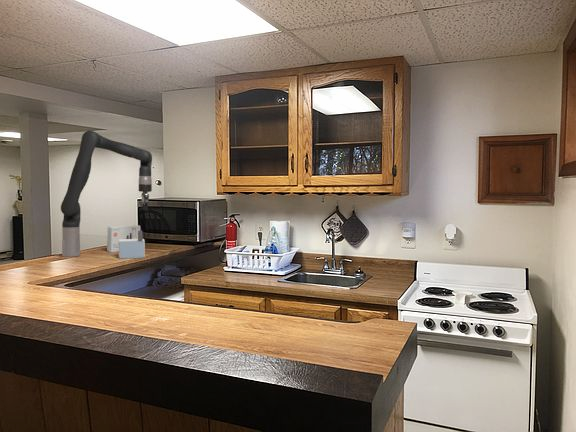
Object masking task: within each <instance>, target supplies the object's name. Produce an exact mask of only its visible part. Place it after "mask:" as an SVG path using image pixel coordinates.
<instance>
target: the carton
mask: <svg viewBox="0 0 576 432" xmlns="http://www.w3.org/2000/svg"><path fill="white" fill-rule="evenodd" d="M120 241H138V239H119V242H120ZM143 241H144V257H143V258H145V257H146V256H145V255H146V250H145V249H146V245H145V242H146V241H145V239H144V238H143ZM118 258H119V259H123V258H120V246H119V251H118ZM143 258H142V259H143Z"/></svg>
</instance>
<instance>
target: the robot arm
mask: <svg viewBox="0 0 576 432" xmlns="http://www.w3.org/2000/svg"><path fill="white" fill-rule="evenodd" d="M95 148H96V149H103V150H107V151H110V152H113V153H115V154H118V155H121V156H124V157H128V158H131V159H135V160H137V161H139V162H140V163H139V169H138V192H140V193H141V192H142V193H141V200H140V201H141V204H142V206H141V209H142V210H143V212H144V211H145V212H148V211H149V203H150V198H149V197H150V194H149V193H148V192H152V190H153V189H152V187H153V180H152V164H153V155H152V153H151V151H149V150H146V149H143V148H139V147H135V146H133V145H132V144H131V145H130V144H127V143H125V142H122V141H121V142H119V141H115V140H112V139H108V138H107V137H105V136H102V135H100V134H99V133H98V132H96V131H95V130H94V131H93V130H86V131H85V132H83V134H82V136H81V141H80V146H79V150H78V154H77V156H76V159H75V161H74V162H75V163H74V164H73V168H72V171H71V175H70V178H69V183H68V186H67V191H66V193H65V196H64V197H63V200H62V202H61V205H60V211H61V213H62V214H63V218H62V219H63V220H62V224H61V226H62V228H61V231H62V232H61V233H62V234H61V235H62V236H61V237H62V239H61V248H62V249H61V250H62V251H61V252H62V253H61V254H62V255H61V256H62V257H63V258H65V257H67V258H68V257H69V258H71V257H79V256H81V239H80V238H81V235H80V234H81V233H80V231H81V229H80V223H81V204H80V202H79V200H80V197H81V193H82V192H83V190H84V188H85V187H86V185H87V183H88V180H89V177H90V174H91V172H92V171H91V170H92V157H93V154H94V150H95Z"/></svg>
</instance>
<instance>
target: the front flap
mask: <svg viewBox="0 0 576 432" xmlns="http://www.w3.org/2000/svg"><path fill="white" fill-rule="evenodd" d="M143 237H144V236H143V230H140V231H138V241H120V242H119V246H120V258H122V259H139V258H140V259H141V258H142V259H143V257H144V241H143V239H144V238H143ZM144 258H145V257H144Z"/></svg>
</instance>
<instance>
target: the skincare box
mask: <svg viewBox="0 0 576 432" xmlns="http://www.w3.org/2000/svg"><path fill="white" fill-rule="evenodd" d="M138 231H141V225H139V224H138V225H136V224H132V225H118V226H117V225H115V226H113V225H112V226H107V241H106V242H107V251H106V252H109V253H116V252H118V253H119V239H138Z"/></svg>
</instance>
